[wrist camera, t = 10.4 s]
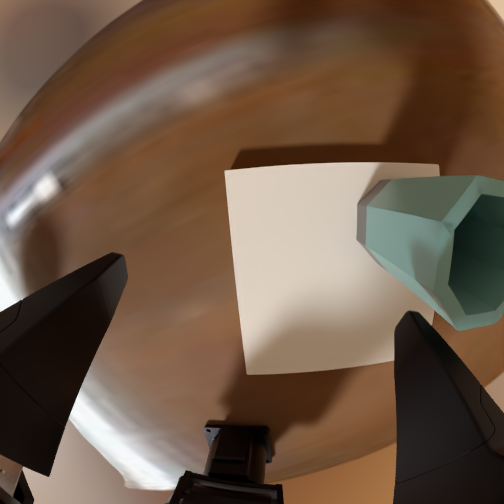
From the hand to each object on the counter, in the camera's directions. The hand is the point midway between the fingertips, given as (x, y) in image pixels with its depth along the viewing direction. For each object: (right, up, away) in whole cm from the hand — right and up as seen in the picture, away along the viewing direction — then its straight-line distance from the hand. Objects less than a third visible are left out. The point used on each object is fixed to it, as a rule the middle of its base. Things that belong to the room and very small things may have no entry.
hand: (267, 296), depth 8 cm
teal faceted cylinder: (+9, +3, +9) cm, 13 cm away
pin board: (+6, 0, +11) cm, 13 cm away
